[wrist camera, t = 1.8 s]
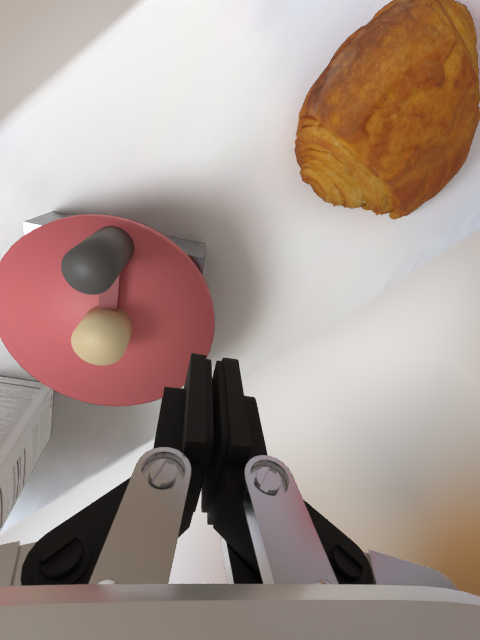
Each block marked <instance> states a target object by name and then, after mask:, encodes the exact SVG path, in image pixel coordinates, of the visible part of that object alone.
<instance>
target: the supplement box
mask: <svg viewBox="0 0 480 640" xmlns="http://www.w3.org/2000/svg"><path fill="white" fill-rule="evenodd" d="M53 391H54V390H53V389H51V388H49V387H47V386H46V385H44V384H42V383H40V382H34V381H27V380H21V379H14V378H8V377H1V376H0V531H1V529H2V527H3V525H4V523H5V521H6V519H7V517H8V516H9V514H10V512H11V510H12V508H13V506H14V504H15V502H16V501H17V499H18V497H19V495H20V493H21V491H22V489H23V488H24V486H25V484H26V482H27V480H28V478H29V476H30V474H31V472H32V471H33V469H34V467H35V465H36V463H37V461H38V459H39V457H40V456H41V454H42V452H43V450H44V448H45V446H46V444H47V443H48V441H49V439H50V435H51V421H52V407H53Z"/></svg>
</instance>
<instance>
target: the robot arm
mask: <svg viewBox="0 0 480 640" xmlns="http://www.w3.org/2000/svg"><path fill="white" fill-rule="evenodd" d="M201 488H202V502H201V503H202V505H201V508H202V512H207V513H208V514H207V515H208V516H207V517H208V519H207V521H208V524H209V525H213V528H214V529H215V530H216V531H217V532H218V533H219V534H220V535H221V549H222V555H223V561H224V567H225V572H226V578H227V584H168V582H169V577H170V572H171V568H172V562H173V558H174V553H175V549H176V544H177V539H178V537H180V536H181V534H183V533H184V531H186V530H187V529H188V528H189V526H190V523H191V519H192V515H193V512H195V510H196V506H197V503H198V499H199V495H200V492H201ZM0 640H480V597H479V596H476V595H473V594H470V593H466V592H462V591H459V590H458V589H457V588H456V587H455V585H454V584H453V583H452V582H451V581H450V580H449V579H448V578H447V577H445V576H444V575H443V574H442V573H440V572H438V571H436V570H434V569H431V568H428V567H425V566H422V565H418V564H415V563H411V562H408V561H405V560H402V559H398V558H395V557H392V556H388V555H385V554H381V553H378V552H375V551H371V550H369V551H368V552H367V553H364V552H363V551H362V550H361V549H360V548H359V547H358V546H357V545H356V544H355V543H354V542H353V541H352V540H351V539H349V538H348V537H347V536H346V535H345V534H344V533H342V532H341V531H340V530H339V529H338V528H336V527H335V526H334V525H333V524H332V523H330V522H329V521H328V520H327V519H325V518H324V517H323V516H322V515H321V514H320V513H319V512H317V511H316V510H315V509H314V508H312V507H311V506H310V505H309V504H308V503H307V502H305V501H304V500H303V499H302V496H301V494H300V491H299V489H298V487H297V485H296V482H295V480H294V477H293V475H292V473H291V472H290V470H289V468H288V467H287V466H286V465H285V464H284V463H283V462H281V461H280V460H278V459H277V458H274V457H271V456H267V451H266V446H265V441H264V436H263V432H262V427H261V422H260V418H259V413H258V408H257V403H256V399H255V398H254V397H249V396H244V393H243V387H242V381H241V374H240V368H239V362H238V360H237V359H230V358H223V359H222V361H217V362H216V365H215V369H214V373H213V378H212V366H211V360H209V359H206V355H202V354H195V353H191V356H190V361H189V366H188V371H187V376H186V381H185V386H184V389H182V388H173V387H165V386H164V392H163V398H162V403H161V409H160V415H159V420H158V426H157V432H156V437H155V443H154V449H152V450H150V451H148V452H146V453H145V454H144V455H143V456H142V457H140V459H139V461H138V462H137V464H136V466H135V469H134V471H133V474H132V476H131V477H130V478H129V479H127V480H126V481H124V482H123V483H122V484H120V485H119V486H117V487H116V488H114V489H113V490H111V491H110V492H108V493H107V494H105V495H104V496H102V497H101V498H99V499H98V500H96V501H95V502H93V503H92V504H90V505H89V506H87V507H86V508H84V509H83V510H81V511H80V512H78V513H77V514H75V515H74V516H72V517H71V518H69V519H68V520H66V521H65V522H63V523H62V524H60V525H59V526H58V527H56V528H54V529H53V530H51V531H50V532H48V533H47V534H46V535H45V536H43V537H42V538H41V539H40V540H39V541H37V542H35V543H30V544H26V545H20V542H19V541H18V542H13V543H9V544H3V545H0Z"/></svg>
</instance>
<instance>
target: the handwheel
mask: <svg viewBox="0 0 480 640" xmlns="http://www.w3.org/2000/svg"><path fill="white" fill-rule="evenodd" d="M213 336H214V309H213V302H212V298H211V295H210V291H209V288H208V286H207V284H206V282H205V279H204V277H203V276H202V274H201V272H200V271H199V269H198V268H197V266H196V265H195V263H194V262H193V261H192V260H191V259H190V257H189V256H188V255H187V254H186V253H185V252H184V251H183V250H182V249H181V248H180V247H179V246H178V245H177V244H175V243H174V242H173V241H171V240H170V239H169V238H167V237H166V236H164V235H163V234H161V233H159V232H158V231H156V230H154V229H152V228H150V227H148V226H146V225H143V224H141V223H139V222H136V221H133V220H129V219H126V218H122V217H118V216H111V215H105V214H82V215H73V216H68V217H65V218H61V219H57V220H54V221H52V222H50V223H47V224H45V225H43V226H40V227H38V228H35V229H34V230H32V231H31V232H29V233H27V234H26V235H24V236H23V237H21V238H20V239H19V240H18V241H17V242H16V243H15V244H14V245H12V246H11V248H10V249H9V250H8V252H7V253H6V254H5V255H4V257H3V258H2V260H1V262H0V337H1V339H2V341H3V343H4V345H5V347H6V348H7V349H8V351H9V352H10V354H11V355H12V357H13V358H14V359H15V360H16V361H17V362H18V363H19V364H20V366H21V367H22V368H24V369H25V370H26V371H27V372H28V373H29V374H30V375H31V376H33V377H34V378H35V379H37V380H38V381H40V382H41V383H42V384H44V385H46V386H47V387H49V388H51V389H53V390H54V391H56V392H59V393H61V394H63V395H65V396H68V397H70V398H73V399H76V400H79V401H83V402H87V403H91V404H97V405H104V406H131V405H138V404H143V403H147V402H152V401H155V400H157V399H160V398H163V392H164V386H165V387H173V388H181V387H182V386H184V385H185V381H186V376H187V371H188V366H189V361H190V356H191V353H195V354H202V355H206V358H207V356H208V354H209V352H210V348H211V345H212V342H213Z"/></svg>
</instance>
